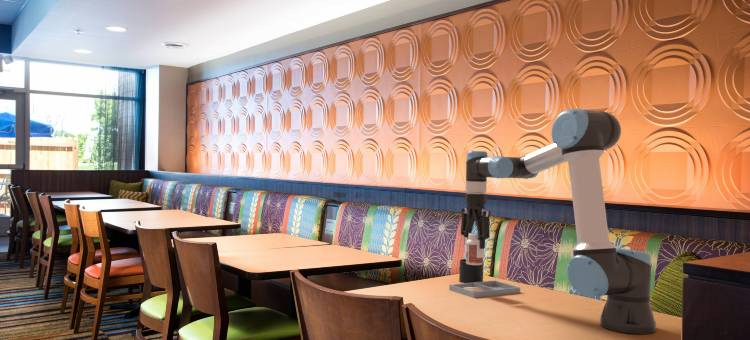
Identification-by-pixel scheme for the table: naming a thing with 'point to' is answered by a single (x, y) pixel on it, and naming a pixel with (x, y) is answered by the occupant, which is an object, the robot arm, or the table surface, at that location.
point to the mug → (470, 272)
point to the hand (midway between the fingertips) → (474, 256)
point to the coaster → (473, 289)
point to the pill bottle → (472, 250)
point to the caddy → (485, 288)
